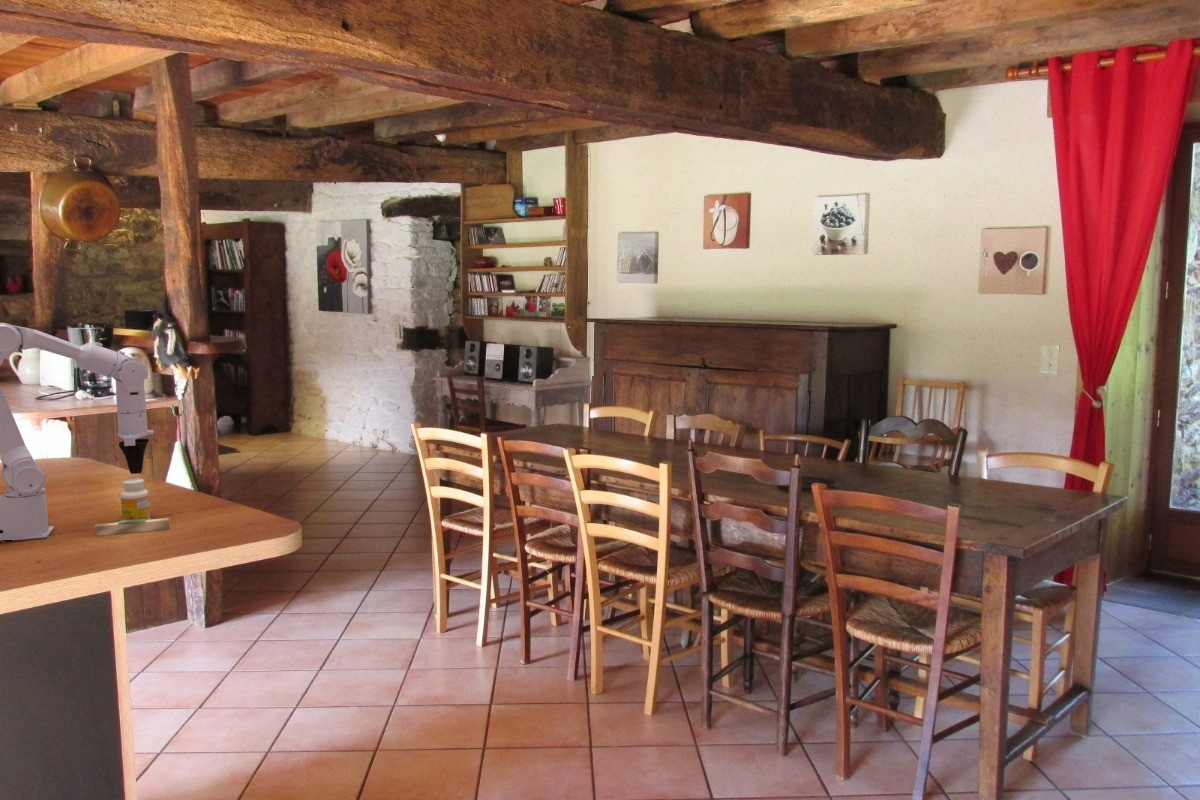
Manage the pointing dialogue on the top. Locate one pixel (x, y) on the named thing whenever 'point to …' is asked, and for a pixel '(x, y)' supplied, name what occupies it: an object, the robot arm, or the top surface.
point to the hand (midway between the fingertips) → (136, 473)
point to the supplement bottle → (135, 500)
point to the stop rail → (131, 526)
